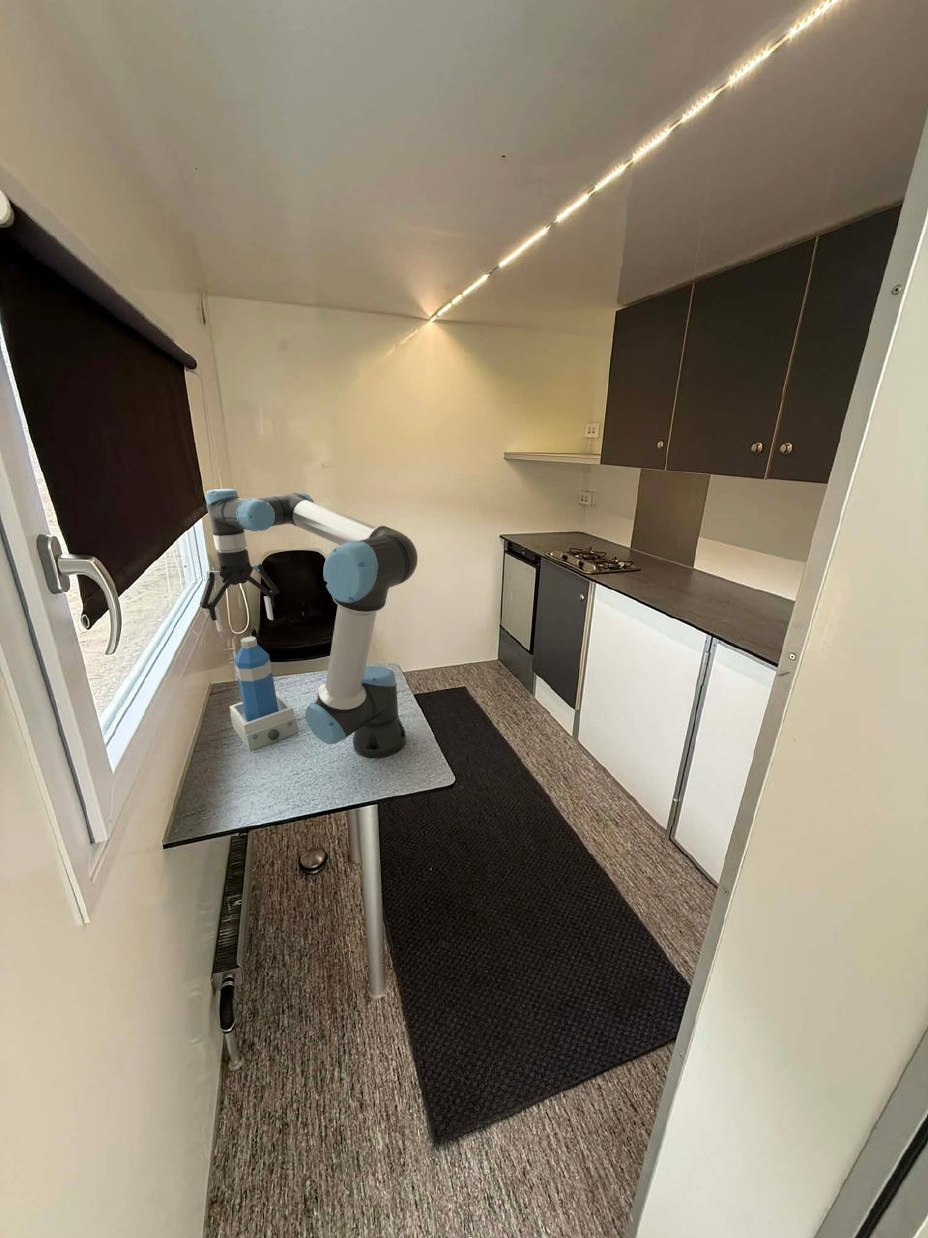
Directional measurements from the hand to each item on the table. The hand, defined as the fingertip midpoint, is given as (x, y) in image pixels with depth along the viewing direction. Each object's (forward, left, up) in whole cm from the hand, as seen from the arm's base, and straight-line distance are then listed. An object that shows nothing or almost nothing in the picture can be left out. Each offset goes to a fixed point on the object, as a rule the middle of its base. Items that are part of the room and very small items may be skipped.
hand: (246, 624), depth 133 cm
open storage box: (0, 0, -35) cm, 35 cm away
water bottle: (0, 0, -30) cm, 30 cm away
